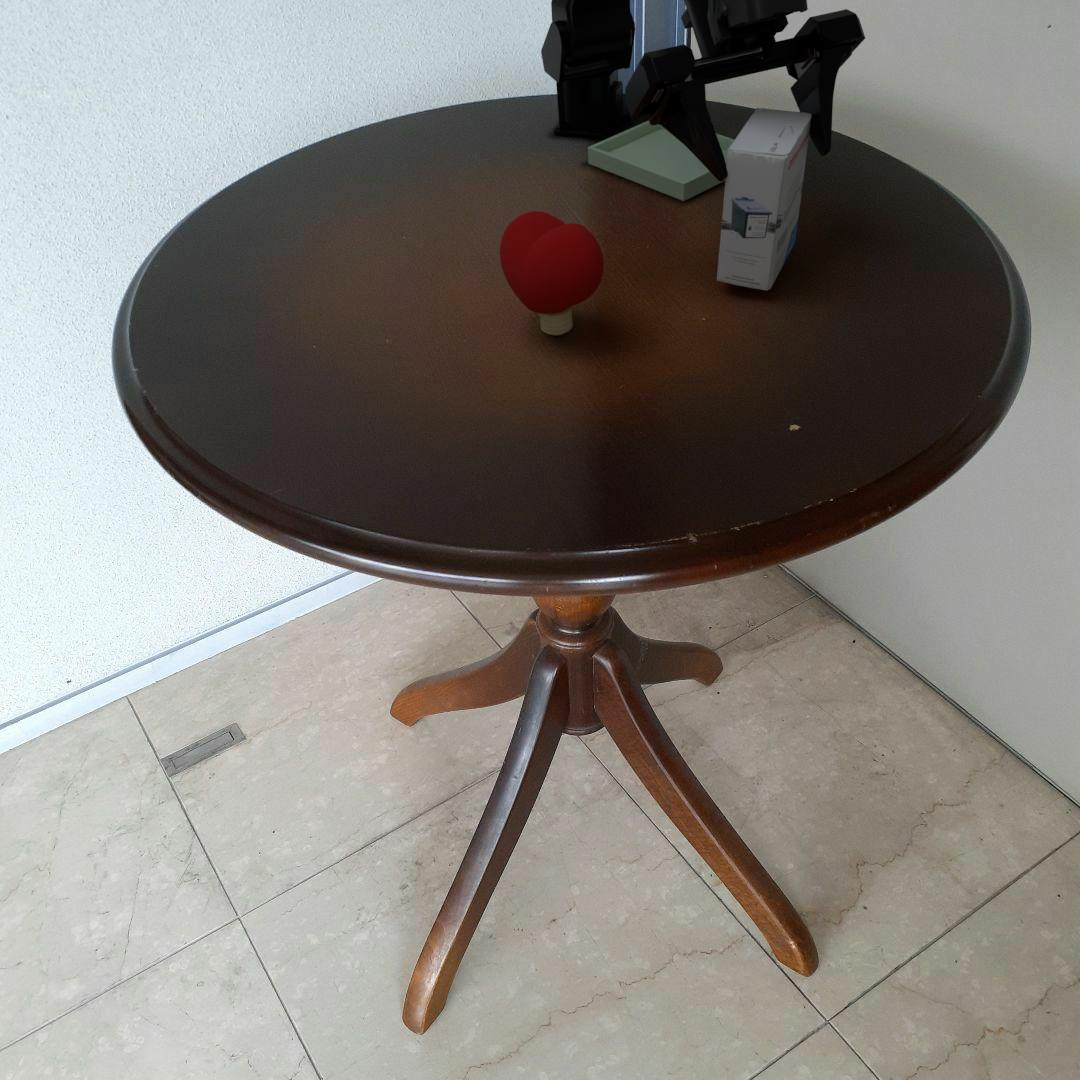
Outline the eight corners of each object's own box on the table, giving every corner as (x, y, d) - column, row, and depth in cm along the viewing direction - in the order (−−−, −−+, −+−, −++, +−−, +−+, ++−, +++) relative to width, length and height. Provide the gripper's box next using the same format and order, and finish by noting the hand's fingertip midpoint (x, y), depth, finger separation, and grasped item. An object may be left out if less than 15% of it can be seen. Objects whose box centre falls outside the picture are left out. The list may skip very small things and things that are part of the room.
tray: (588, 163, 110) (587, 147, 108) (660, 131, 114) (660, 114, 113) (683, 201, 101) (683, 184, 100) (757, 164, 106) (758, 147, 105)
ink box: (744, 236, 93) (754, 104, 84) (799, 244, 91) (815, 110, 83) (715, 283, 87) (722, 148, 79) (773, 293, 85) (787, 155, 77)
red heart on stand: (488, 335, 86) (473, 224, 80) (544, 300, 90) (535, 190, 83) (571, 372, 81) (562, 257, 75) (627, 333, 85) (624, 220, 78)
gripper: (638, -65, 72) (705, 147, 72) (869, -109, 76) (933, 92, 76) (598, 23, 83) (656, 207, 83) (802, -20, 87) (858, 157, 87)
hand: (775, 166), depth 82 cm, fingers closed on ink box, 9 cm apart
